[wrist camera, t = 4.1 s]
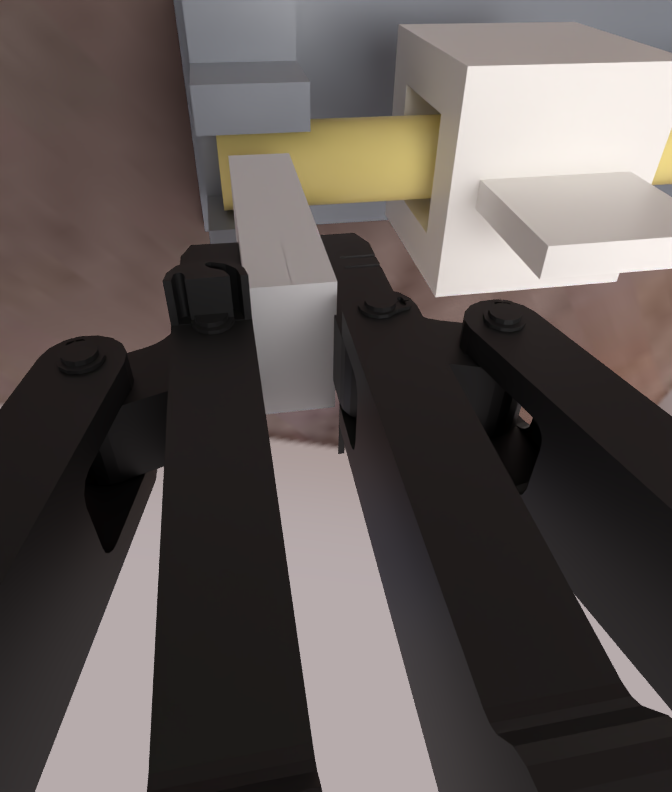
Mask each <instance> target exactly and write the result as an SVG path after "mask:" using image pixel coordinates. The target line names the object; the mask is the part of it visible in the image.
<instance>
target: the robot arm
mask: <svg viewBox="0 0 672 792" xmlns="http://www.w3.org/2000/svg"><path fill="white" fill-rule="evenodd" d="M228 158H229V168H230V179H231V189H232V199H233V209H234V220H235V230H236V240H237V242H234V243H218V244H202V245H191V246H190V247H189V248H188V249H187V250H186V252H185V253H184V254H183V255H182V256H181V261H180V265H178V266H176V267H174V268H173V269H171V270H170V271H169V272H167V273H166V275H165V277H164V279H163V286H164V291H165V296H166V301H167V306H168V311H169V317H170V322H171V334H170V335H169V336H167V337H166V338H165V339H164V340H162V341H160V342H158V343H156V344H154V345H151V346H149V347H146V348H143V349H140V350H136V351H133V352H129V353H127V352H126V350H125V348H124V346H123V344H122V343H120V342H118V341H116V340H115V339H113V338H109V337H103V336H98V335H97V336H81V337H75V338H71V339H68V340H65V341H63V342H61V343H59V344H57V345H55V346H53V347H51V348H49V349H48V350H47V351H46V352H45V353H44V354H42V355H41V356H40V357H39V358H38V360H37V361H36V362H35V364H34V365H33V366H32V368H31V369H30V370H29V371H28V373H27V374H26V375H25V377H24V378H23V379H22V381H21V382H20V383H19V385H18V386H17V387H16V389H15V390H14V391H13V393H12V394H11V395H10V397H9V398H8V399H7V401H6V402H5V403H4V405H3V406H2V407H1V409H0V792H35V790H36V787H37V785H38V782H39V779H40V777H41V774H42V772H43V769H44V767H45V764H46V761H47V759H48V756H49V754H50V751H51V749H52V746H53V743H54V740H55V738H56V736H57V733H58V730H59V728H60V725H61V723H62V720H63V718H64V715H65V712H66V710H67V707H68V705H69V702H70V700H71V697H72V694H73V692H74V689H75V687H76V684H77V682H78V679H79V676H80V674H81V671H82V669H83V666H84V663H85V661H86V658H87V656H88V653H89V651H90V648H91V645H92V643H93V640H94V638H95V635H96V633H97V630H98V627H99V625H100V622H101V620H102V617H103V615H104V612H105V609H106V606H107V604H108V601H109V599H110V597H111V594H112V591H113V589H114V586H115V584H116V581H117V579H118V576H119V573H120V571H121V568H122V566H123V563H124V560H125V558H126V555H127V553H128V550H129V548H130V545H131V542H132V540H133V537H134V535H135V532H136V529H137V527H138V524H139V522H140V519H141V517H142V514H143V512H144V509H145V506H146V504H147V501H148V499H149V496H150V494H151V491H152V488H153V486H154V483H155V480H156V473H157V469H158V468H160V467H163V466H164V480H163V499H162V519H161V539H160V559H159V579H158V599H157V618H156V619H157V620H156V637H155V657H154V677H153V696H152V717H151V736H150V757H149V775H148V786H147V792H322V788H321V784H320V780H319V777H318V772H317V768H316V762H315V756H314V750H313V744H312V736H311V729H310V722H309V715H308V708H307V701H306V694H305V687H304V680H303V673H302V666H301V659H300V652H299V645H298V638H297V631H296V624H295V617H294V610H293V602H292V596H291V588H290V581H289V575H288V567H287V561H286V553H285V546H284V539H283V532H282V525H281V518H280V512H279V504H278V497H277V491H276V484H275V477H274V469H273V462H272V456H271V448H270V441H269V434H268V427H267V420H266V414H274V413H284V412H293V411H302V410H311V409H321V408H330V407H335V388H336V392H337V395H338V399H339V402H340V410H339V447H338V454H341V453H344V446H345V448H346V452H347V455H348V459H349V463H350V467H351V470H352V474H353V477H354V481H355V485H356V488H357V492H358V496H359V500H360V503H361V507H362V511H363V514H364V518H365V522H366V525H367V529H368V533H369V536H370V540H371V544H372V547H373V551H374V555H375V559H376V562H377V566H378V570H379V573H380V577H381V581H382V584H383V588H384V592H385V595H386V599H387V603H388V606H389V610H390V614H391V618H392V621H393V624H394V629H395V632H396V636H397V639H398V643H399V646H400V651H401V654H402V658H403V662H404V665H405V669H406V673H407V676H408V680H409V684H410V688H411V691H412V695H413V699H414V702H415V706H416V709H417V713H418V717H419V721H420V724H421V728H422V732H423V735H424V739H425V743H426V746H427V750H428V753H429V757H430V761H431V765H432V769H433V772H434V776H435V780H436V783H437V787H438V791H439V792H672V718H671V717H669V716H668V715H666V714H663V713H660V712H658V711H655V710H652V709H649V708H647V707H644V706H641V705H640V704H639V703H638V702H637V701H636V700H635V699H634V698H633V697H632V696H631V695H630V694H629V692H628V691H627V689H626V688H625V686H624V685H623V683H622V682H621V680H620V678H619V676H618V674H617V672H616V670H615V669H614V667H613V665H612V663H611V661H610V659H609V658H608V656H607V654H606V652H605V650H604V648H603V646H602V645H601V643H600V641H599V639H598V637H597V636H596V634H595V632H594V630H593V628H592V626H591V624H590V623H589V621H588V619H587V617H586V615H585V613H584V612H583V610H582V608H581V606H580V604H579V603H578V601H577V599H576V597H575V595H576V596H577V598H578V599H579V600H580V601H581V602H582V604H583V605H584V606H585V607H586V608H587V609H588V611H589V612H590V613H591V614H592V616H593V617H594V618H595V619H596V620H597V621H598V623H599V624H600V625H601V626H602V627H603V629H604V630H605V631H606V632H607V633H608V635H609V636H610V637H611V638H612V639H613V641H614V642H615V643H616V644H617V646H618V647H619V648H620V649H621V650H622V652H623V653H624V654H625V655H626V656H627V658H628V659H629V660H630V661H631V662H632V664H633V665H634V666H635V667H636V668H637V670H638V671H639V672H640V673H641V674H642V675H643V677H644V678H645V679H646V680H647V681H648V683H649V684H650V685H651V686H652V687H653V688H654V690H655V691H656V692H657V693H658V695H659V696H660V697H661V698H662V699H663V701H664V702H665V703H666V704H667V705H668V707H669V708H670V709H671V710H672V416H670V415H669V414H668V413H667V412H665V411H664V410H663V409H661V408H660V407H659V406H657V405H656V404H655V403H654V402H652V401H651V400H650V399H648V398H647V397H646V396H644V395H643V394H642V393H640V392H639V391H638V390H637V389H635V388H634V387H633V386H631V385H630V384H629V383H627V382H626V381H625V380H623V379H622V378H621V377H620V376H618V375H617V374H616V373H614V372H613V371H612V370H610V369H609V368H608V367H606V366H605V365H604V364H603V363H601V362H600V361H599V360H597V359H596V358H595V357H593V356H592V355H591V354H589V353H588V352H587V351H586V350H584V349H583V348H582V347H580V346H579V345H578V344H576V343H575V342H574V341H572V340H571V339H570V338H569V337H567V336H566V335H565V334H563V333H562V332H561V331H559V330H558V329H557V328H555V327H554V326H553V325H552V324H550V323H549V322H548V321H546V320H545V319H544V318H542V317H541V316H540V315H538V314H537V313H536V312H534V311H532V310H531V309H529V308H527V307H525V306H524V305H520V304H517V303H514V302H512V301H508V300H503V301H502V300H488V301H480V302H478V303H475V304H473V305H471V306H470V307H469V308H468V309H467V310H466V311H465V314H464V319H463V323H459V322H449V321H440V320H434V319H428V318H425V317H423V316H422V314H421V312H420V310H419V308H418V307H417V305H416V304H415V303H414V302H413V301H412V300H411V299H410V298H409V297H407V296H405V295H403V294H401V293H399V292H394V291H393V289H392V287H391V286H390V284H389V282H388V280H387V278H386V276H385V274H384V272H383V270H382V268H381V266H380V265H379V262H378V260H377V258H376V257H375V254H374V252H373V250H372V248H371V246H370V244H369V243H368V242H367V241H365V240H364V239H362V238H361V237H359V236H358V235H356V234H355V233H348V234H332V235H320V234H319V231H318V229H317V226H316V223H315V221H314V218H313V215H312V213H311V210H310V207H309V205H308V202H307V199H306V197H305V194H304V191H303V189H302V186H301V183H300V181H299V178H298V175H297V173H296V170H295V167H294V165H293V162H292V159H291V157H290V154H289V153H280V154H256V155H232V156H228ZM521 406H522V407H523V408H524V409H525V410H526V411H527V412H528V413H529V414H530V415H531V416H532V417H533V419H532V422H531V424H530V425H529V424H528V423H526V422H525V421H524V420H523V419H522V418H521V417H520V416H519V412H520V409H521ZM574 594H575V595H574Z"/></svg>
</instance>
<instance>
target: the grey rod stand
mask: <svg viewBox="0 0 672 792" xmlns="http://www.w3.org/2000/svg"><path fill="white" fill-rule="evenodd" d="M174 8H175V15H176V22H177V30H178V37H179V44H180V52H181V59H182V66H183V74H184V81H185V88H186V96H187V103H188V110H189V117H190V125H191V132H192V139H193V147H194V154H195V161H196V169H197V176H198V183H199V191H200V198H201V205H202V213H203V220H204V227H205V232H206V231H209V236H210V244H218V243H234V242H237V240H236V230H235V220H234V209H233V199H232V189H231V179H230V168H229V158H228V156H232V155H256V154H280V153H289V154H290V157H291V159H292V162H293V165H294V167H295V170H296V173H297V175H298V178H299V181H300V183H301V186H302V189H303V191H304V194H305V197H306V199H307V202H308V205H309V207H310V210H311V213H312V215H313V218H314V221H315V223H316V224H331V223H347V222H362V221H378V220H388V218H387V217H386V215H385V210H386V201H394V200H411V199H427V198H431V195H432V187H433V179H434V170H435V162H436V154H437V145H438V137H439V129H440V120H441V114H431V115H405V116H392V111H393V97H394V82H395V68H396V54H397V40H398V25H399V24H455V23H530V22H577V23H580V24H583V25H586V26H589V27H592V28H596V29H599V30H602V31H605V32H608V33H611V34H614V35H617V36H621V37H624V38H627V39H630V40H633V41H636V42H639V43H642V44H646V45H649V46H652V47H655V48H658V49H661V50H664V51H667V52H671V53H672V0H174ZM651 185H653V186H655V187H656V188H658V189H659V190H661V191H663V192H664V193H666V194H668V195H669V196H671V197H672V128H671V131H670V134H669V137H668V139H667V142H666V145H665V148H664V151H663V153H662V156H661V159H660V162H659V164H658V167H657V170H656V173H655V176H654V178H653V181H652V184H651Z"/></svg>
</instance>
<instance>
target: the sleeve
mask: <svg viewBox="0 0 672 792" xmlns="http://www.w3.org/2000/svg"><path fill="white" fill-rule="evenodd" d="M431 114H441V120H440V129H439V137H438V145H437V154H436V162H435V170H434V179H433V187H432V195H431V198H427V199H411V200H394V201H386V210H385V215H386V217H387V218H388V220H389V222H390V223H391V225H392V227H393V228H394V230H395V232H396V233H397V235H398V236H399V238H400V240H401V241H402V243H403V245H404V246H405V248H406V250H407V251H408V253H409V254H410V256H411V258H412V259H413V261H414V263H415V264H416V266H417V268H418V269H419V271H420V273H421V274H422V276H423V277H424V279H425V281H426V282H427V284H428V286H429V287H430V289H431V291H432V292H433V294H434V295H435V297H442V296H454V295H465V294H477V293H489V292H501V291H512V290H524V289H536V288H547V287H559V286H571V285H583V284H594V283H606V282H616V281H617V278H618V276H619V273H624V272H636V271H648V270H660V269H672V197H671V196H669V195H668V194H666V193H664V192H663V191H661V190H659V189H658V188H656V187H655V186H653V185H651V184H652V181H653V178H654V176H655V173H656V170H657V167H658V164H659V162H660V159H661V156H662V153H663V151H664V148H665V145H666V142H667V139H668V137H669V134H670V131H671V128H672V53H671V52H667V51H664V50H661V49H658V48H655V47H652V46H649V45H646V44H642V43H639V42H636V41H633V40H630V39H627V38H624V37H621V36H617V35H614V34H611V33H608V32H605V31H602V30H599V29H596V28H592V27H589V26H586V25H583V24H580V23H577V22H530V23H455V24H399V25H398V40H397V54H396V68H395V82H394V97H393V111H392V116H405V115H431Z"/></svg>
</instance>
